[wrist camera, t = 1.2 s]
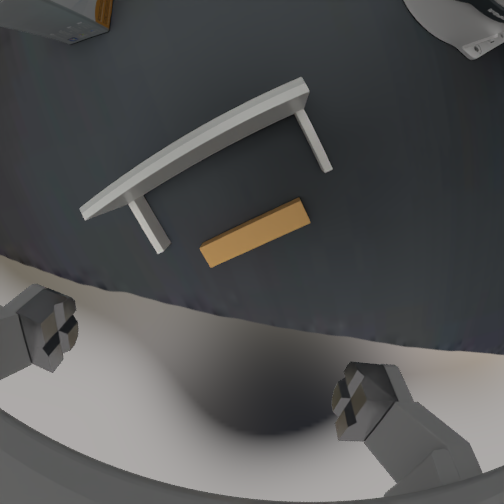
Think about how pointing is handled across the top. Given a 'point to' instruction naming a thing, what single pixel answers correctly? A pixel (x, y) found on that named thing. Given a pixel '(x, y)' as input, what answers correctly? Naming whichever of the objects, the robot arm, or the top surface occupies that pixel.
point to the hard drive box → (57, 18)
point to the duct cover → (200, 145)
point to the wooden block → (255, 232)
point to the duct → (140, 203)
